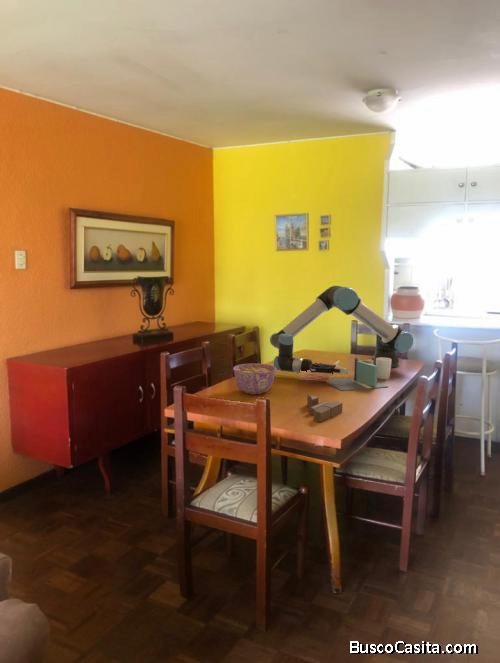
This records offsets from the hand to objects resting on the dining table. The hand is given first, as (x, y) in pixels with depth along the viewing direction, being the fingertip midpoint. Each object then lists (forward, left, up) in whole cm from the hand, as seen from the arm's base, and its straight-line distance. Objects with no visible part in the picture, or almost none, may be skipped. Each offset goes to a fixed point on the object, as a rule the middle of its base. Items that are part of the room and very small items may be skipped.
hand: (347, 371), depth 257 cm
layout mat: (-4, +1, -7) cm, 8 cm away
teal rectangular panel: (-8, +4, -6) cm, 11 cm away
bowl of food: (+48, +2, -7) cm, 49 cm away
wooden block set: (+35, +38, -7) cm, 52 cm away
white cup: (-25, -7, -7) cm, 26 cm away
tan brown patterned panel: (-11, -3, -7) cm, 14 cm away
